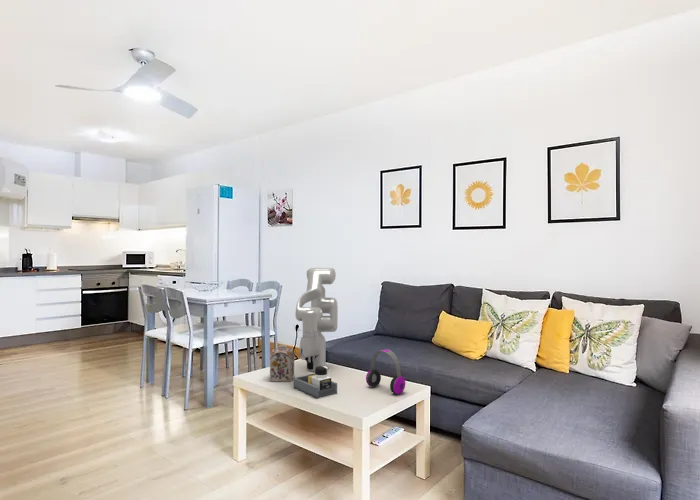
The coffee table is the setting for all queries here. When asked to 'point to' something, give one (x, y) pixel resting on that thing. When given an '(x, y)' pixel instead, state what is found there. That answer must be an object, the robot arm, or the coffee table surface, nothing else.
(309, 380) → the pusher
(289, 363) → the decorative jar
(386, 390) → the coffee table surface
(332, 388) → the gray tray
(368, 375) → the headphones
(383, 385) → the coffee table surface
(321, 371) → the medicine bottle
